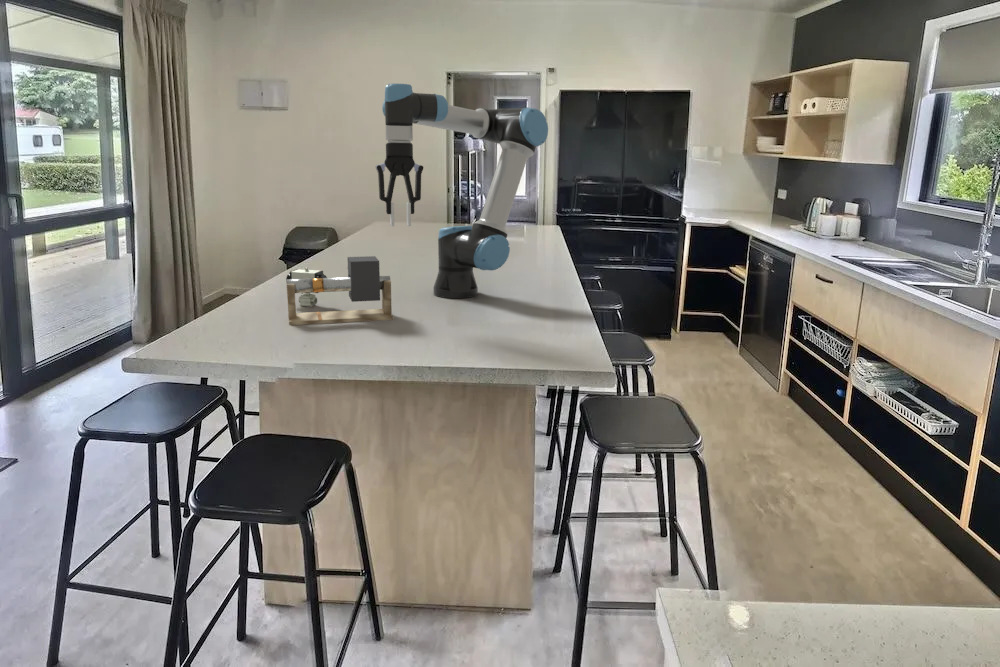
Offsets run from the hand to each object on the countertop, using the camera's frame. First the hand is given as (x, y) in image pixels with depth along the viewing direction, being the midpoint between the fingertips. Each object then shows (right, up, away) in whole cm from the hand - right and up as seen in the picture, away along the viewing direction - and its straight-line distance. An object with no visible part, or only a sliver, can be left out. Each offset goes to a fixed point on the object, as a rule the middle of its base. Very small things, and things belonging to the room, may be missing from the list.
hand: (400, 225), depth 206 cm
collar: (-11, -21, +2) cm, 24 cm away
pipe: (-18, -19, 0) cm, 26 cm away
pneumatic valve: (-31, -23, +17) cm, 42 cm away
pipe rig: (-18, -27, +2) cm, 32 cm away
